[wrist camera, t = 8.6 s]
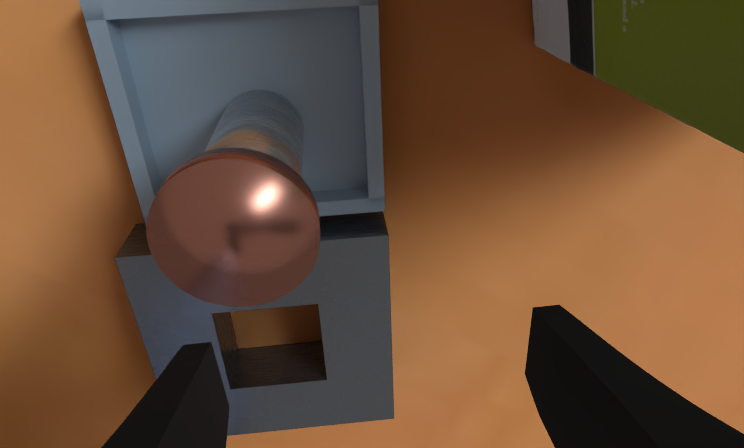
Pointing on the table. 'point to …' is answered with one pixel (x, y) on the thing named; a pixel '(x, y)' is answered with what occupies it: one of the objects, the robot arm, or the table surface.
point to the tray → (245, 84)
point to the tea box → (657, 54)
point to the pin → (239, 209)
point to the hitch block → (293, 361)
